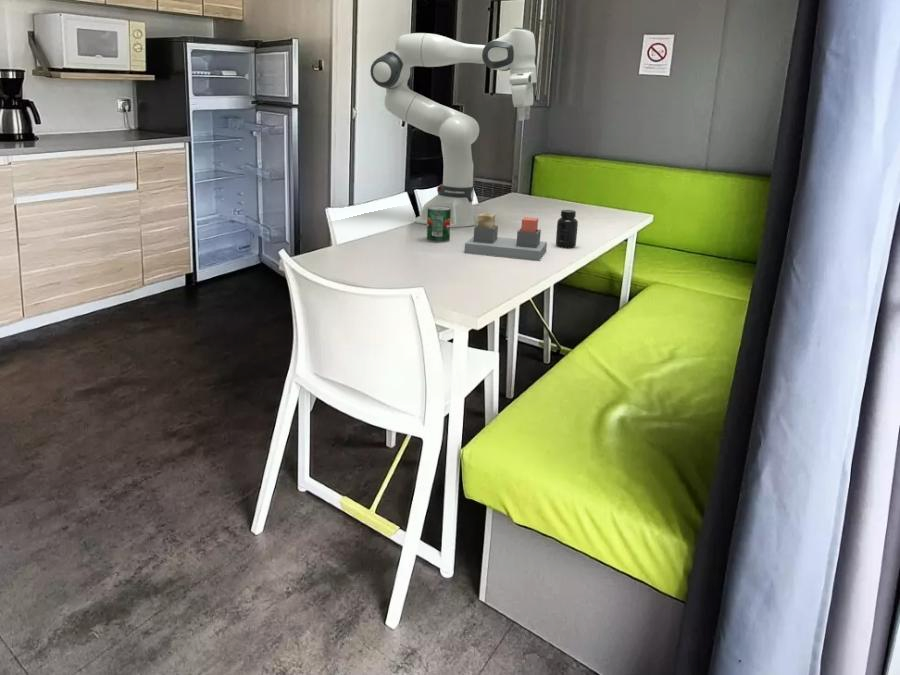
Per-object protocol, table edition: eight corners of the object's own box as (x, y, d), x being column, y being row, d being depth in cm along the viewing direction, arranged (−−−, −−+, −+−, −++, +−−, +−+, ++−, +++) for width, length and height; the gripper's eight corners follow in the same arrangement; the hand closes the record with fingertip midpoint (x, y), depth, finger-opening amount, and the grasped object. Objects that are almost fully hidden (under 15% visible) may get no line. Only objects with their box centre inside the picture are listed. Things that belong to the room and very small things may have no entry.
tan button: (477, 227, 229) (478, 215, 227) (481, 225, 233) (481, 213, 231) (491, 229, 228) (492, 216, 226) (494, 226, 232) (495, 214, 230)
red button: (521, 232, 225) (521, 219, 224) (523, 229, 229) (524, 217, 228) (534, 233, 224) (535, 220, 223) (537, 230, 228) (538, 218, 227)
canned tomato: (423, 237, 246) (424, 205, 242) (445, 236, 248) (446, 205, 244) (430, 243, 239) (432, 210, 235) (453, 242, 241) (454, 209, 237)
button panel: (464, 252, 228) (465, 229, 225) (475, 243, 240) (476, 221, 238) (539, 260, 222) (541, 236, 219) (546, 250, 234) (548, 227, 232)
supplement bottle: (561, 242, 247) (565, 208, 243) (579, 246, 243) (583, 211, 239) (551, 246, 242) (554, 210, 237) (568, 249, 238) (572, 213, 233)
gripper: (519, 78, 258) (520, 119, 262) (508, 78, 239) (509, 122, 244) (537, 77, 256) (537, 118, 260) (527, 77, 237) (527, 121, 242)
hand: (524, 120), depth 252 cm, fingers open, 8 cm apart
